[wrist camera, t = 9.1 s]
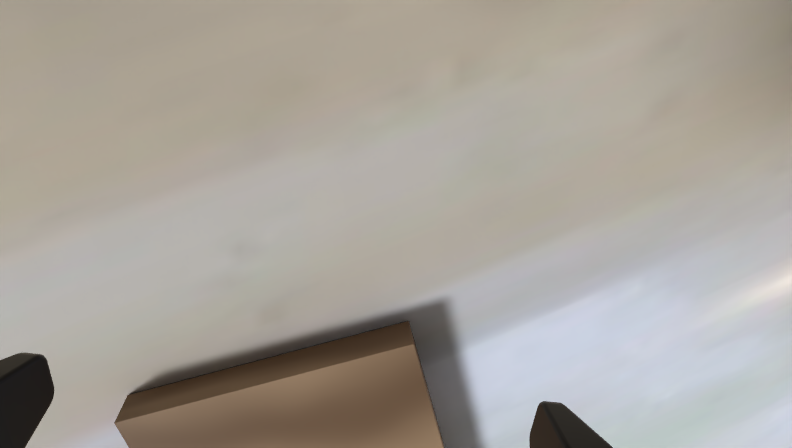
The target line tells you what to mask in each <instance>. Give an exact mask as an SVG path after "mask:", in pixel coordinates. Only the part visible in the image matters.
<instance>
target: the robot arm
mask: <svg viewBox="0 0 792 448" xmlns="http://www.w3.org/2000/svg"><path fill="white" fill-rule="evenodd" d="M53 396H54V385H53V381H52V377H51V374H50V370H49V366H48V362H47V359H46V358H45V357H44V356H43V355H41V354H32V353H19V354H15V355H13V356H10V357H8V358H5V359H2V360H0V448H25V446H26V445H27V443H28V441H29V440H30V438H31V436H32V435H33V433H34V431H35V430H36V428H37V426H38V424H39V423H40V421H41V419H42V418H43V416H44V414H45V413H46V411H47V409H48V407H49V406H50V404H51V402H52V399H53ZM530 448H613V447H612V446H611V445H610V444H608V443H607V442H606V441H605V440H604V439H603V438H602V437H600V436H599V435H598V434H597V433H596V432H595V431H594V430H592V429H591V428H590V427H589V426H588V425H587V424H586V423H584V422H583V421H582V420H581V419H580V418H579V417H578V416H576V415H575V414H574V413H573V412H572V411H571V410H570V409H568V408H567V407H566V406H565V405H563V404H562V403H557V402H546V401H543V402H541V403H540V404H539V406H538V408H537V411H536V415H535V418H534V422H533V425H532V428H531V432H530Z"/></svg>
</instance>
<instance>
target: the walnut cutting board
mask: <svg viewBox="0 0 792 448" xmlns="http://www.w3.org/2000/svg"><path fill="white" fill-rule="evenodd" d="M115 425H116V427H117V428H118V430H119V432H120V433H121V435H122V437H123V438H124V440H125V442H126V443H127V445H128V447H129V448H444V444H443V441H442V437H441V433H440V430H439V426H438V423H437V419H436V416H435V412H434V409H433V405H432V402H431V398H430V395H429V391H428V387H427V384H426V380H425V377H424V373H423V370H422V366H421V363H420V359H419V356H418V352H417V349H416V345H415V341H414V338H413V334H412V331H411V327H410V324H409V321H406V322H403V323H399V324H395V325H391V326H387V327H384V328H380V329H376V330H372V331H369V332H365V333H361V334H357V335H353V336H350V337H346V338H342V339H338V340H334V341H331V342H327V343H323V344H319V345H316V346H312V347H308V348H304V349H300V350H297V351H293V352H289V353H285V354H282V355H278V356H274V357H270V358H266V359H263V360H259V361H255V362H251V363H248V364H244V365H240V366H236V367H232V368H229V369H225V370H221V371H217V372H214V373H210V374H206V375H202V376H198V377H195V378H191V379H187V380H183V381H179V382H176V383H172V384H168V385H164V386H161V387H157V388H153V389H149V390H145V391H142V392H138V393H134V394H130V395H128V396H127V398H126V400H125V402H124V404H123V406H122V408H121V410H120V412H119V415H118V417H117V419H116V421H115Z"/></svg>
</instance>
